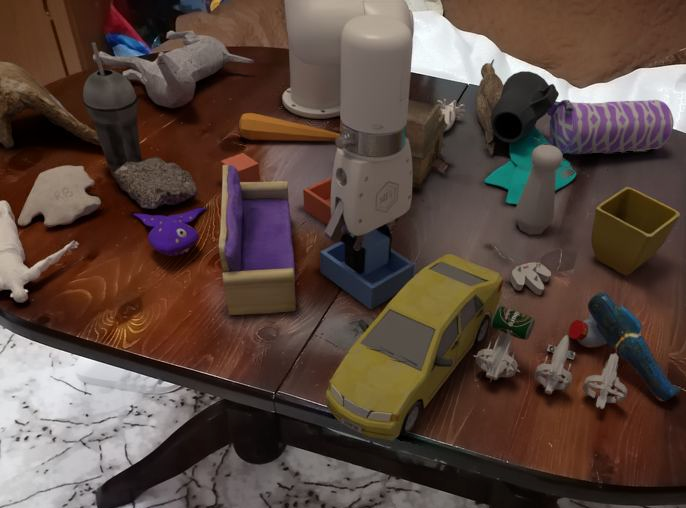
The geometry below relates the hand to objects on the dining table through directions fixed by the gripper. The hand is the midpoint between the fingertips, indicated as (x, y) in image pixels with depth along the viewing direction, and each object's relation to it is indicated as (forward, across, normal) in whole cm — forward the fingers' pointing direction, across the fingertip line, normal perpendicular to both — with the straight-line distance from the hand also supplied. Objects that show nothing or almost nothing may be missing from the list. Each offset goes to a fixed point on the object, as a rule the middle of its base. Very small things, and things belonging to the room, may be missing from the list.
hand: (367, 260), depth 95 cm
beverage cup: (+3, -10, +43) cm, 44 cm away
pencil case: (-1, +55, -5) cm, 55 cm away
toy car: (+3, -7, -16) cm, 18 cm away
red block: (+3, +1, +29) cm, 29 cm away
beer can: (-4, +1, -20) cm, 21 cm away
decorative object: (+2, -23, +34) cm, 42 cm away
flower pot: (+3, +31, -21) cm, 37 cm away
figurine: (0, -31, +40) cm, 51 cm away
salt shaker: (+3, +28, -7) cm, 29 cm away
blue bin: (+3, 0, 0) cm, 3 cm away
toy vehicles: (+3, +4, -28) cm, 28 cm away
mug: (-5, +51, +12) cm, 53 cm away
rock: (+5, -11, +59) cm, 60 cm away
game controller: (+3, +18, -12) cm, 22 cm away
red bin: (+3, +8, +13) cm, 16 cm away
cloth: (+3, +42, +3) cm, 42 cm away
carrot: (+4, +16, +34) cm, 38 cm away
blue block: (0, 0, 0) cm, 0 cm away
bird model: (+2, +52, +18) cm, 55 cm away
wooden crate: (+3, +24, +17) cm, 30 cm away
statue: (-4, +12, +70) cm, 71 cm away
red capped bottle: (+1, +18, -29) cm, 34 cm away
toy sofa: (+3, -9, +11) cm, 15 cm away
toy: (+3, -15, +24) cm, 29 cm away
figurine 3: (+2, +11, -40) cm, 42 cm away
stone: (+4, -10, +34) cm, 36 cm away
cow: (-2, +39, +22) cm, 45 cm away
